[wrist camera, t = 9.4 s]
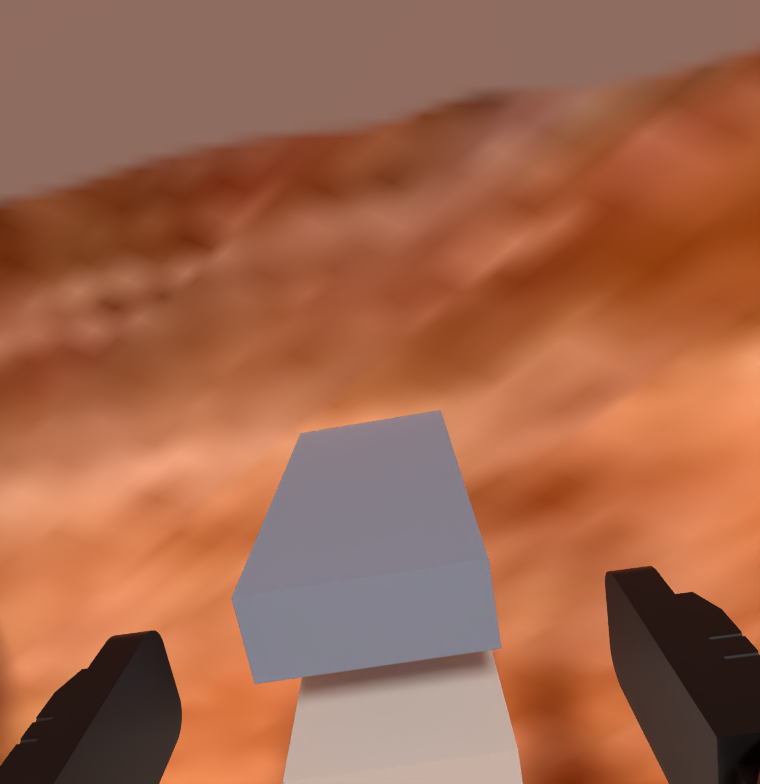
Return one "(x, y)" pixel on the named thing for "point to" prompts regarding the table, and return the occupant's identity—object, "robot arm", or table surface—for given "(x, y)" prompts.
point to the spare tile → (366, 556)
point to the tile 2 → (405, 725)
